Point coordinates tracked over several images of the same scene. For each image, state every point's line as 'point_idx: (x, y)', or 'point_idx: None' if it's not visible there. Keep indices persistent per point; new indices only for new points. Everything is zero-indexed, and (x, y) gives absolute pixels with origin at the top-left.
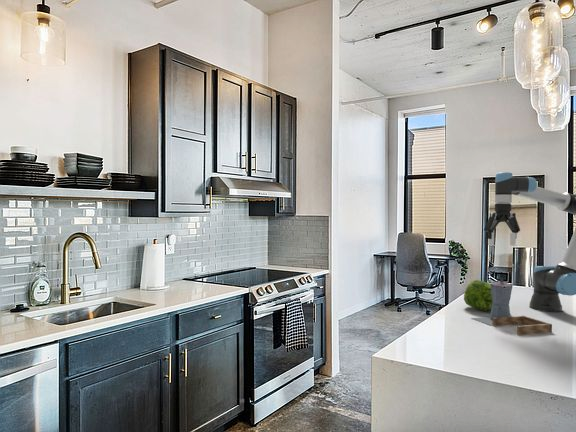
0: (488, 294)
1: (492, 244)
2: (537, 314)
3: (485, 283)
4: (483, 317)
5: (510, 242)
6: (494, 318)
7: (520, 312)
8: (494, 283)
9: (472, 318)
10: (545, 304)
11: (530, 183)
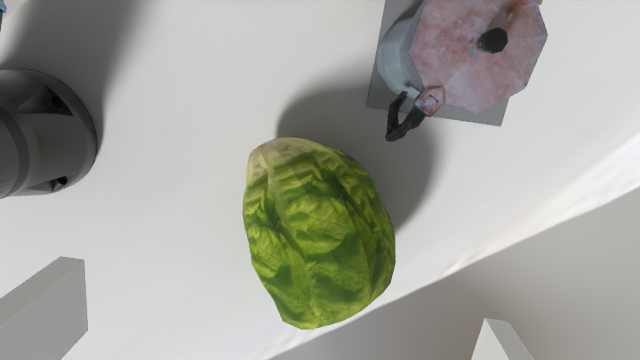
0: (363, 184)
1: (513, 335)
2: (163, 72)
3: (330, 248)
4: (442, 115)
5: (58, 354)
6: None
7: (206, 124)
8: (518, 67)
9: (500, 120)
10: (52, 109)
11: None
